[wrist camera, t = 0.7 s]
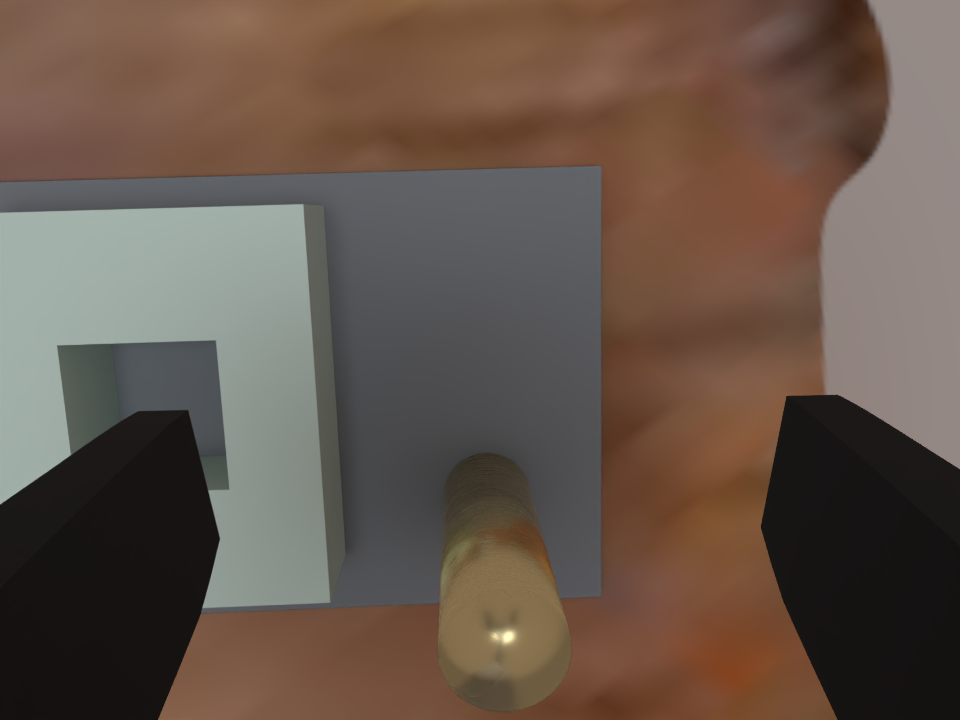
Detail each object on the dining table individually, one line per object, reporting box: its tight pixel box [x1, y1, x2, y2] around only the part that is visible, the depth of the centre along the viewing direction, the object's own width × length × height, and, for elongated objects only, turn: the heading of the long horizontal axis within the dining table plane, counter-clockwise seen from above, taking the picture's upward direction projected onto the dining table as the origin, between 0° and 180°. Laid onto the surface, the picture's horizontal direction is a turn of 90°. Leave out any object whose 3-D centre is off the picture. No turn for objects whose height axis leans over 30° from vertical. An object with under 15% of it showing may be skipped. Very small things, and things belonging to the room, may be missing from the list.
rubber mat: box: [0, 166, 601, 613], centre depth 27 cm, size 15×20×1 cm
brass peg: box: [438, 453, 572, 712], centre depth 23 cm, size 3×3×10 cm
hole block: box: [0, 204, 346, 608], centre depth 25 cm, size 12×10×4 cm
